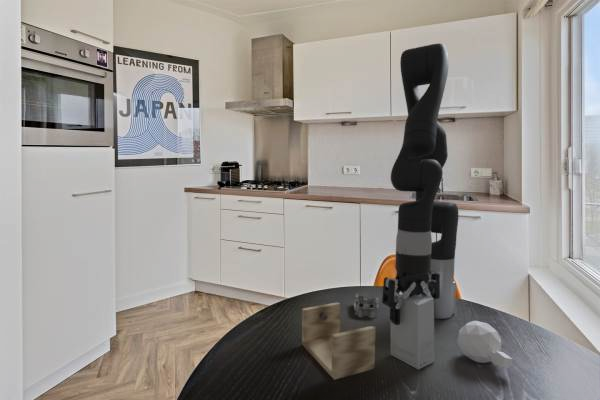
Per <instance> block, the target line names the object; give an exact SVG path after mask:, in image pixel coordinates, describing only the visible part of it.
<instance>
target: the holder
mask: <svg viewBox="0 0 600 400" xmlns="http://www.w3.org/2000/svg"><path fill="white" fill-rule="evenodd" d="M301 345H302V347H304V348H305V350H306V351H307V352H308V353H309V354H310V355H311V356H312V357H313V358H314V360H315V361H316V362H318V364H319V365H320V366H321V367H322V368H323V370H325V371H326V373H327V374H328V375H329V376H330V377H331V378H332V379H333V380H334V381H335V380H338V379H342V378H346V377H349V376H354V375H356V374H360V373H363V372H367V371H371V370H373V369H375V364H376V363H375V360H376V359H375V356H376V327H375V326H373V325H370V326H365V327H359V328H355V329H351V330H347V331H343V332H342V331H341V303H339V302H332V303H327V304H321V305H315V306H310V307H304V308H301Z"/></svg>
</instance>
